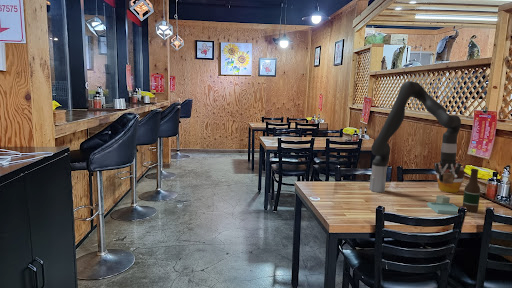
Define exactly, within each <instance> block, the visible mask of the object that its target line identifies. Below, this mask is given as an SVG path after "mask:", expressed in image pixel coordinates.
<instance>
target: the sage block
mask: <svg viewBox="0 0 512 288" xmlns="http://www.w3.org/2000/svg"><path fill="white" fill-rule="evenodd" d="M450 201H451V197H450V196H447V195H444V194H439V195H438V194H437V195H436V198H435V203H451V202H450Z"/></svg>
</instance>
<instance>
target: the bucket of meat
mask: <svg viewBox="0 0 512 288" xmlns="http://www.w3.org/2000/svg"><path fill="white" fill-rule="evenodd" d="M456 163H459V164H461V161H459V160H456ZM466 167H467V165H466V164H463V165H461V168H460V171H459V174H456V175H455V176H454V181H453V184H445V183H442V182H440V180H439V174H438V173H436V179H437V185H438V190H439V191H441V192H443V191H444V192H445V193H450V194H451V193H452V194H457V193H458V192H459V191H460V188H461V186H462V184H463V181H464V179H465V175H466V172H465V169H466ZM440 168H441V165H440V166H439V171H440ZM455 169H456V165H455V166H454V170H455ZM454 172H455V171H454ZM444 173H451V172H450V170H449V169H447V170H445V172H444Z"/></svg>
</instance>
